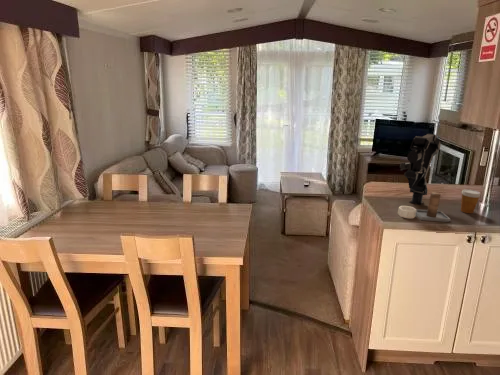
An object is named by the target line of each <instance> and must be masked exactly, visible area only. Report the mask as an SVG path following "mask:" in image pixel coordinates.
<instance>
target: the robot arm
mask: <svg viewBox="0 0 500 375" xmlns="http://www.w3.org/2000/svg"><path fill="white" fill-rule="evenodd" d="M441 145H442V144H441V140H440V139H439V138H438V137H437V135H436V134H435V133H426V135H423V136H419V135H418V136H417V135H416V136H415V137H414V138H413V139H412V140H411V144H410V147H409V149H410V150H411V151H410V152H408V153H407V156H406V159H407V160H408V161H409V162H401V163H400V165H399V167H398V168H400V171H404V170H406V171H404V175H403V176H404V177H405V178H407V181H408V188H409V193H412V197H411V200H410V201H409V203H410V204H415V205H419V206H422V205H423V204H424V203H425V201H423V198H424V196H426V195H428V185H427V184H428V183H427V179H426V178H427V176H428V173H429V170H430V166H431V164H432V160H433V157H434V156H436V155H437V154H438V152H439V150H440V149H441Z"/></svg>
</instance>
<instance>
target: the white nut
mask: <svg viewBox="0 0 500 375" xmlns="http://www.w3.org/2000/svg"><path fill="white" fill-rule="evenodd" d="M417 210H418V209H417ZM417 210H416V208H415V207H413V206H410V205H409V206H408V205H400V206H399V207H398V210H397V215H398V216H399V217H401V218H405V219H414V218H416V217H417V215H416V211H417Z"/></svg>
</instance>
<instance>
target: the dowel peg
mask: <svg viewBox="0 0 500 375" xmlns="http://www.w3.org/2000/svg"><path fill="white" fill-rule="evenodd" d="M440 199H441V193H440V192H430V196H429V201H428V205H427V209H426V210H427V216H429V217H436V215H437V211H439V210H438V208H439V205H440Z"/></svg>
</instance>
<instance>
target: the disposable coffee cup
mask: <svg viewBox="0 0 500 375" xmlns="http://www.w3.org/2000/svg"><path fill="white" fill-rule="evenodd" d="M480 198H481V192H480V191H478V190H475V189H470V188H468V189H466V188H465V189H462V191H461V200H460V201H461V203H460V211H461V212H463V213H465V214H473V213H474V211H475V209H476V207H477V204H478V202H479V199H480Z"/></svg>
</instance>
